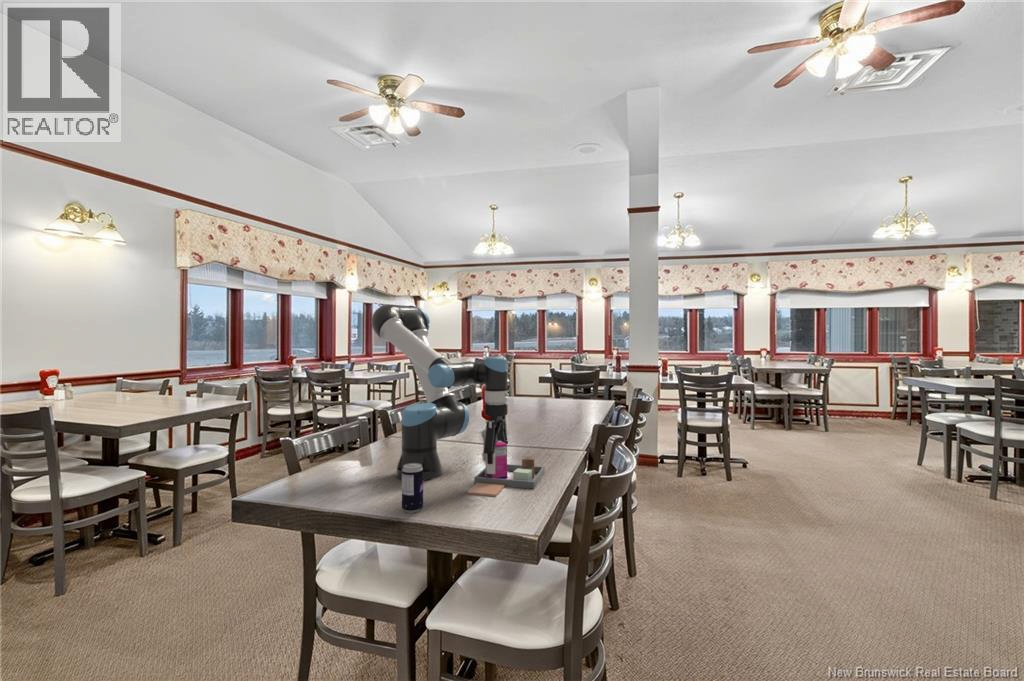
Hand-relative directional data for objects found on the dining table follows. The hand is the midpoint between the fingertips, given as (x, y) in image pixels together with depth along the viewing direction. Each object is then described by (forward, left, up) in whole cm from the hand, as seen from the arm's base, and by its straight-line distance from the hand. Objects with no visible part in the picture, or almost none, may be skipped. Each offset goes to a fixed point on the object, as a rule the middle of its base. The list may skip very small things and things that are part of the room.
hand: (496, 468), depth 156 cm
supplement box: (0, 0, -3) cm, 3 cm away
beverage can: (-13, -34, -3) cm, 37 cm away
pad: (+1, -14, -3) cm, 14 cm away
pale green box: (+10, -4, -3) cm, 11 cm away
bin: (+5, 0, -3) cm, 6 cm away
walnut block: (+10, +4, -3) cm, 11 cm away
